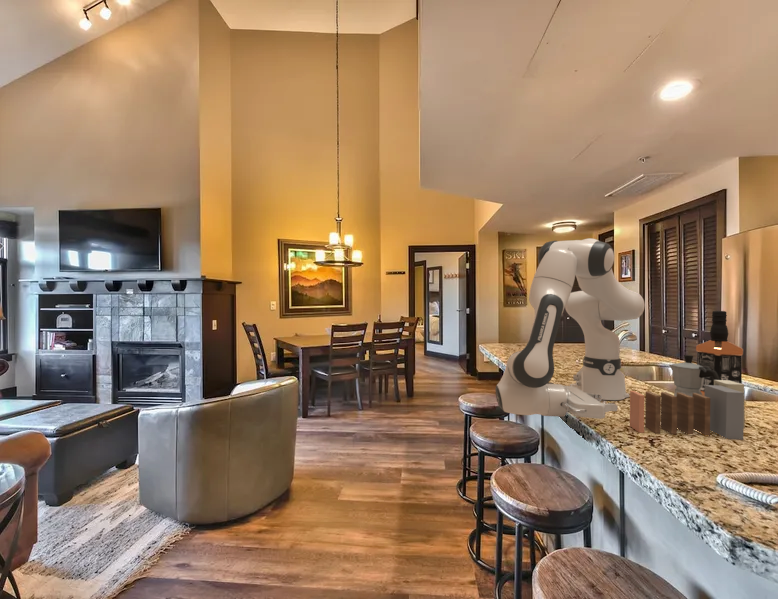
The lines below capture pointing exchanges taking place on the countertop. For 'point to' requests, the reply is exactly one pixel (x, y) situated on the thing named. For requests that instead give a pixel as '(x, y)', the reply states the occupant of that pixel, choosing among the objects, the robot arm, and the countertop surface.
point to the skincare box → (731, 387)
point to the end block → (726, 411)
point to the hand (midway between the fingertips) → (608, 402)
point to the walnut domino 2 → (669, 412)
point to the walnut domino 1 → (653, 412)
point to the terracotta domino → (637, 411)
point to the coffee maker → (691, 376)
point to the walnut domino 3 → (685, 413)
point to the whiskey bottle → (720, 352)
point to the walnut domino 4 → (701, 414)
